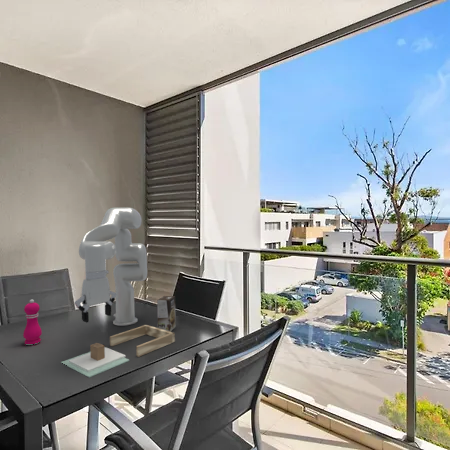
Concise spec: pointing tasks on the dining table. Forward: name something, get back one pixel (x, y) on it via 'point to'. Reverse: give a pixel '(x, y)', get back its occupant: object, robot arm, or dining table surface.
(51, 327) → the dining table surface
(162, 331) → the open-sided wooden frame
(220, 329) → the dining table surface
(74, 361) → the cover plate
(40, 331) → the pepper mill
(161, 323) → the coffee box
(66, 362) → the sage mat
